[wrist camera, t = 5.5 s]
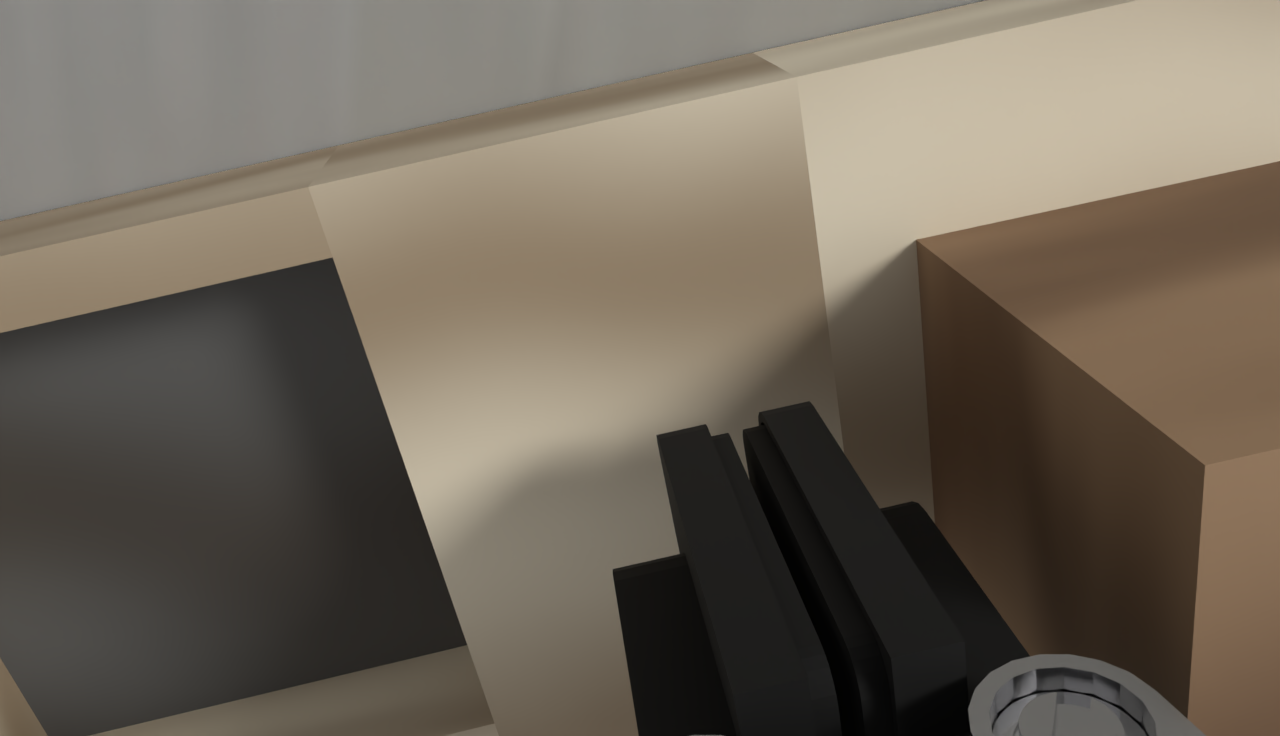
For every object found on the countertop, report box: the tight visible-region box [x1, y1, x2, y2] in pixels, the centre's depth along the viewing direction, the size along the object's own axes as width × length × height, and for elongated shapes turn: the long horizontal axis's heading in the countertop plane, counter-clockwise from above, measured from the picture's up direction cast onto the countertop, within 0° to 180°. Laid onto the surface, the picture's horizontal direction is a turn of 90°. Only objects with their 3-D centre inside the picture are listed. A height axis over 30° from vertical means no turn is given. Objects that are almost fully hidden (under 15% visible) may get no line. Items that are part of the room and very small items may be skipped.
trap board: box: [0, 0, 1280, 736], centre depth 13 cm, size 15×26×4 cm, turn 103°
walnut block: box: [916, 161, 1280, 736], centre depth 10 cm, size 5×5×5 cm
